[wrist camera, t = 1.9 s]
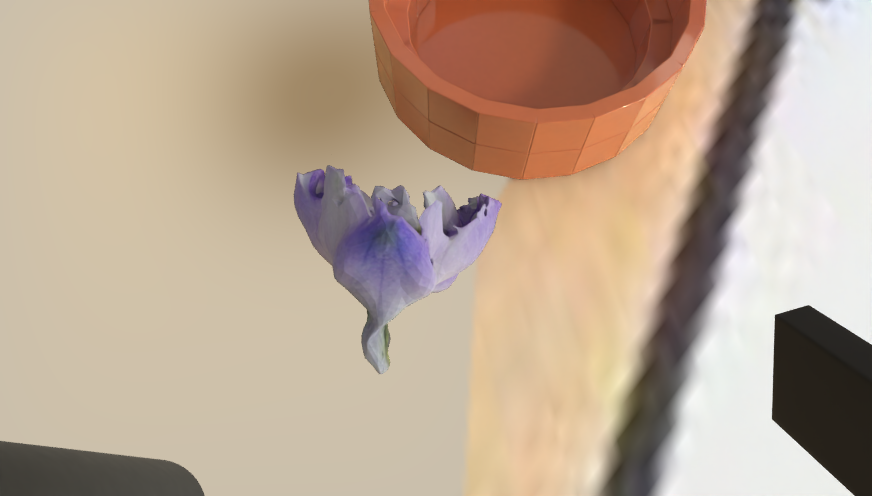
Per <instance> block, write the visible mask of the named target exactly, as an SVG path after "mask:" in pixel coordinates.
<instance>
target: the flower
mask: <svg viewBox="0 0 872 496" xmlns="http://www.w3.org/2000/svg"><path fill="white" fill-rule="evenodd" d="M423 195H424V207H425V210H424V212H423V213H422V215H421V216H420V218H419V220H418V217H417V213H416V208H415V207H414V206H412V205H411V204H410V202H409V197H410V196H409V194H408V193H407V191H406V190H405V188H404V187H403V186H401V185H400V186H398V187H396V188H395V189H393V190H389V189H387V188H385V187H383V186H375V188H374V191H373V194H372V196H371V198H370V197H369V196H368V195H367V194H366V193H364V192H363V191H362V190H360V188H359V186H357V185H356V184H352V179H351V176H346V177H345V176H344V170H343V169H335V168H334V167H332V166H330V165H328V166H327V168H326V173H324V171H323V170H321V169H317V170H314V171H311V172H308V173H306V174H301V173H297V179H296V185H295V191H294V204H295V208H296V211H297V214H298V217H299V219H300V220H301V222H302V224H303V226H304V228H305V229H306V232H307V234H308V236H309V238H310V240H311V243H312V244H313V246H314V247H315V249H316V250H317V251H318V253H319V254H320V255H321V256H322V257H323V258H324V259H325V260H326V261H327V262H329V263H330V264H331V265H332V266H333V271H334V277H335V279H336V280H337V282H339V283H340V284H341V285H342V286H343V287H345V288H346V289H347V290H348V291H349V292H350V293H351V294H352V295H353V296H354V297H355V298H356V299H357V300H358V301H359V302H360V303H361V304H362V305H363V306H364V307H365V308H366V309H367V314H368V317H367V322H366V324H365V327H364V329H363V333H362V347H363V353H364V356H365V358H366V359H367V360H368V361H369V362H370V363H371V365H373V367H374V368H375V369H376V371H377V372H378V373H379V374H383V373H384V372H386V371H387V370H388V367H389V365H390V360H389V356H388V347H389V343H390V334H389V331H388V324H387V323H388V322H390V321H391V320H393V319H394V318H395V317H396V316H397V315H398V314H399V313H400V312H401V311H402V310H403V309H404V308H405V307H407V306H409V305H411V304H413V303H414V302H416V301H418V300H420V299H422V298H425V297H427V296H428V295H429V294H430V293H435V292H440V291H443V290H445V289H447V288H449V286H450V285H451V284H452V283H453V282H454V280H455V279H456V277H457V275H458V274H459V272H461V271H463V270H464V269H465V268H467V267H468V266H469V265H471V264H472V263H473V262H474V261H475V260H476V259H477V258H478V256H479V255H480V253H481V252H482V250H483V249H484V247H485V245H486V243H487V241H488V240H489V238H490V236H491V234H492V233H493V230H494V227H495V223H496V219H497V214H498V212H499V210H500V208H501V205H502V204H501V203H500V202H499V201H498V200H495V199H493V198H490V197H489V196H486V195H483V194H480V196H479V197H478V196H477V197H475V198H468V202H469V204H468V205H463V206H461V207H460V209H458V210H456V207H455V204H454V202H453V201H452V199H451V197H450V196H449V194H448V193H447V192H446V191H445V190H444V189H443V187H442V186H438V187H437V188H436V189H434V190H432V191H431V192H429V191H424V192H423ZM378 198H380V199H378ZM393 200H394V201H393ZM389 201H391V202H389ZM388 202H389V203H388Z"/></svg>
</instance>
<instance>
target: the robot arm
mask: <svg viewBox="0 0 872 496" xmlns="http://www.w3.org/2000/svg"><path fill="white" fill-rule="evenodd" d="M772 420H774V421H775V422H776V423H777V424H778V425H779V426H780V427H781V428H782V429H783V430H784V431H785V432H786V433H788V434H789V435H790V436H791V437H792V438H793V439H794V440H795V441H796V442H797V443H798V444H799V445H801V446H802V447H803V448H804V449H805V450H806V451H807V452H808V453H809V454H810V455H811V456H812V457H814V458H815V459H816V460H817V461H818V462H819V463H820V464H821V465H822V466H823V467H824V468H825V469H826V470H828V471H829V472H830V473H831V474H832V475H833V476H834V477H835V478H836V479H837V480H838V481H839V482H841V483H842V484H843V485H844V486H845V487H846V488H847V489H848V490H849V491H850V492H851V493H852V494H854V495H855V496H872V345H871V344H870V343H868V342H866V341H865V340H863V339H862V338H860V337H858V336H857V335H855V334H854V333H852V332H851V331H849V330H847V329H846V328H844V327H843V326H841V325H839V324H838V323H836V322H835V321H833V320H831V319H830V318H828V317H827V316H825V315H824V314H822V313H820V312H819V311H817V310H816V309H814V308H812V307H811V306H809V305H808V306H804V307H801V308H797V309H794V310H790V311H787V312H783V313H780V314H776V315H775V333H774V368H773V402H772Z"/></svg>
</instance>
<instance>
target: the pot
mask: <svg viewBox="0 0 872 496" xmlns="http://www.w3.org/2000/svg"><path fill="white" fill-rule="evenodd" d="M706 2H707V0H369V9H370V17H371V25H372V32H373V39H374V46H375V52H376V60H377V67H378V73H379V79H380V82H381V84H382V86H383V89H384V91H385V93H386V94H387V97H388V99H389V101H390V103H391V105H392V107H393V109H394V111H395V113H396V115H397V116H398V118H399V119H400V120H401V121H402V122H403V123H404V124H405V125H406V126H407V127H408V128H409V129H410V130H411V131H412V132H413V133H414V134H415V135H416V136H417V137H418V138H419V139H420V140H421V141H422V142H423V143H424V144H425V145H426V146H427V147H429V148H430V149H432V150H433V151H435V152H437V153H439V154H441V155H443V156H446V157H447V158H449V159H451V160H453V161H455V162H457V163H459V164H461V165H463V166H465V167H467V168H469V169H471V170H474V171H479V172H484V173H489V174H495V175H500V176H506V177H510V178H516V179H533V178H544V177H555V176H566V175H571V174H574V173H577V172H579V171H582V170H584V169H587V168H589V167H592V166H594V165H596V164H599V163H601V162H604V161H606V160H609V159H611V158H614V157H616V156H617V155H618V154H619V153H620V152H622V151H623V150H624V149H625V148H626V147H627V146H628V145H630V144H631V143H632V142H633V141H634V140H635V139H637V138H638V137H639V136H640V135H641V134H642V133H643V132H645V131H646V130H647V129H648V127H649V126H650V124H651V122H652V121H653V119H654V117H655V116H656V114H657V112H658V110H659V109H660V107H661V105H662V103H663V102H664V100H665V98H666V96H667V95H668V93H669V91H670V89H671V88H672V86H673V84H674V83H675V81H676V79H677V77H678V76H679V74H680V72H681V70H682V69H683V67H684V65H685V63H686V61H687V59H688V58H689V56H690V54H691V52H692V50H693V48H694V46H695V44H696V43H697V41H698V39H699V37H700V35H701V33H702V31H703V29H704V26H705V15H706Z"/></svg>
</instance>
